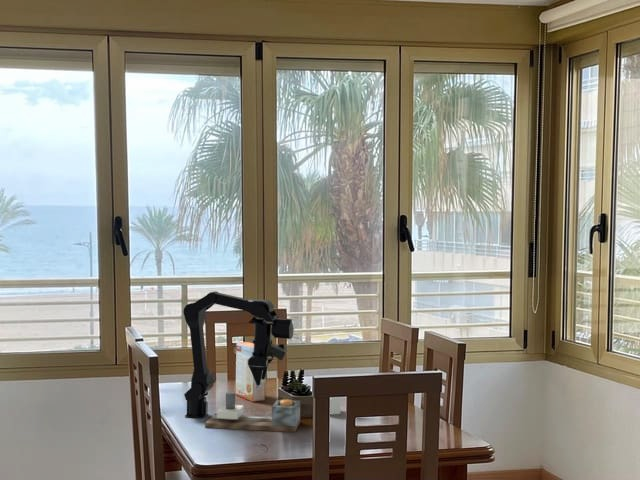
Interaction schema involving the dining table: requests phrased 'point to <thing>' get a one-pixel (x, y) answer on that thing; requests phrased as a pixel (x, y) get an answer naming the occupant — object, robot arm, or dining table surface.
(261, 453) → the dining table surface
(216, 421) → the rail board
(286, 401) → the button
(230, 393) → the carriage
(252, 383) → the cracker box
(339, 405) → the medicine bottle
